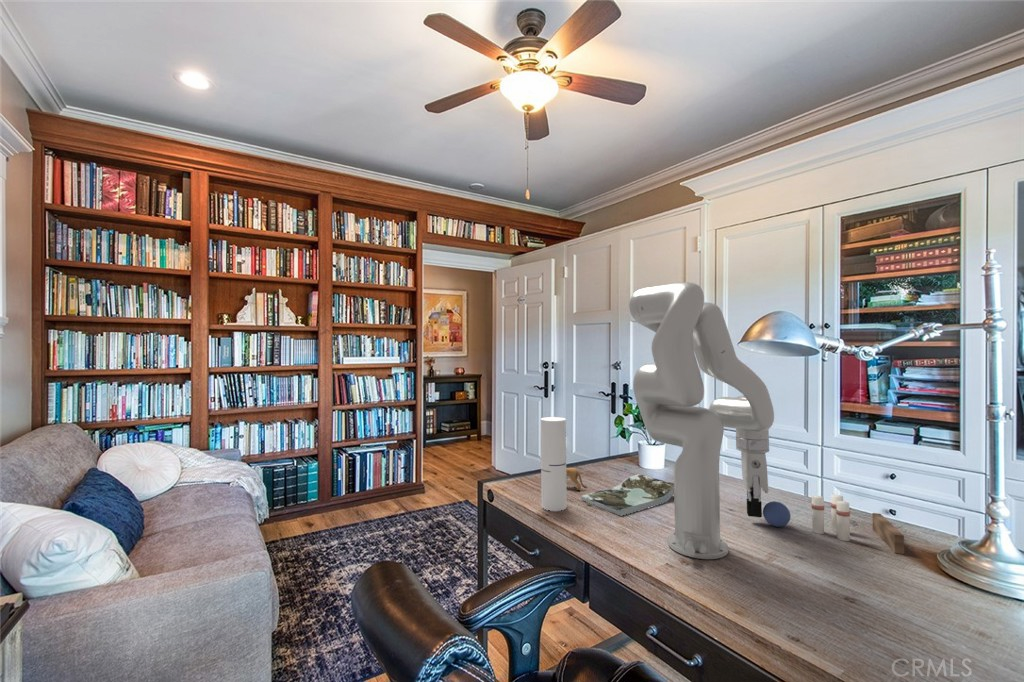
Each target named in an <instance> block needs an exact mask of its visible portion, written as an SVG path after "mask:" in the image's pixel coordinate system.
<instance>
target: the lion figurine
mask: <svg viewBox="0 0 1024 682" xmlns="http://www.w3.org/2000/svg"><path fill="white" fill-rule="evenodd" d="M567 479H570V480H571V481H572V483H573V484H572V485H571V487H572V486H573V487H572V488H574V487H575V488H576V487H577V488H576V489H577V490H580V491H582V490H581V489H582V488H581V486H582V487H583V488H584V489H586V490H587V489H588V487H587V486H585V484H583V481H582V477H581V474H580V471H578V469H577V468H575V467H566V480H567ZM578 480H579V481H578ZM577 490H576V491H577Z"/></svg>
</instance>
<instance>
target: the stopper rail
mask: <svg viewBox="0 0 1024 682" xmlns="http://www.w3.org/2000/svg"><path fill="white" fill-rule="evenodd" d="M872 530H873V531H874V532H875V533H876V534H877V535H878V536H879V538H880V539H882V541H883V542H884V543H885V544H886V545H887V546H888V547H889V548H890V550H892V551H893V553H894V554H898V555H905V535H904V534H903V533H902V532H901V531H900V530H899V529H897V528H896V527H895V526H894V525H893V524H892V523H891V522H890V521H889V520H888V519H887V518H886V517H884V515H882V513H878V512H877V513H876V512H872Z"/></svg>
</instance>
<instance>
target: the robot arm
mask: <svg viewBox="0 0 1024 682" xmlns="http://www.w3.org/2000/svg"><path fill="white" fill-rule="evenodd" d="M628 307H629V313H630V314H631V316H632V318H633V319H634V320H635V321H636V322H637V323H638V324H639V325H641V326H642V327H644V328H646V329H649V330H651V331H653V333H655V334H654V336H653V339H652V341H651V355H652V358H653V363H652V362H651V363H646V364H643V365H642V366H640V367H638V369H637V370H636V371H635V374H634V378H633V380H632V381H633V382H632V383H633V384H632V385H633V386H632V387H633V388H632V389H633V395H634V397H635V401H636V404H637V406H638V409H639V413H640V415H641V418H642V422H643V425H644V426H645V429H646V432H647V433H648V436H650V438H651V439H652V440H654V441H655V442H658V443H662V444H666V445H671V446H676V447H679V448H682V451H681V452H680V454H679V456H678V457H677V459H676V460H675V463H674V466H673V483H674V494H673V495H674V496H673V497H674V498H673V499H674V501H673V503H674V532H672V533H670V535H668V537H667V544H668V546H669V548H671V550H673V551H674V552H676V553H679V554H680V555H682V556H685V557H689V558H693V559H701V560H717V559H722V558H725V557H726V555H728V553H729V546H728V544H727V543H726V541H725V540H723V539H722V538H721V499H720V498H721V496H720V459H721V458H720V456H721V449H722V448H721V447H722V444H723V439H724V438H723V437H724V432H725V431H724V429H725V428H730V429H735V449H736V450H737V451H739V452H740V453H741V454H740V455H741V457H740V459H741V463H740V464H741V475H742V482H743V485H744V488H745V489H746V497H747V498H746V513H747V516H748V517H751V518H753V517H754V518H762V517H763V508H762V506H763V504H762V491H763V492H764V493H765V494H768V493H769V492H770V491H769V478H768V463H767V456H766V453H769V452H770V433H769V432H770V431H769V430H770V429H771V427H772V426H773V425H774V424H773V423H774V420H775V412H774V406H773V403H772V399H771V396H770V393H769V390H768V387H767V385H766V384H765V382H764V381H763V380H762V378H760V376H759V375H757V374H756V372H754V371H753V370H752V369H751V368H750V367H749V366H748V365H747V364H746V363H743V362H742V360H740V359H739V358H738V357H737V355H736V350H735V348H734V345H733V342H732V339H731V335H730V332H729V329H728V326H727V323H726V321H725V316H724V314H723V311H722V309H721V308H720V306H718V305H717V304H715V303H712V302H706V301H705V294H704V291H703V289H702V287H701V286H699V284H696V283H694V282H684V281H682V282H675V283H666V284H661V285H654V286H648V287H642V288H640V289H637V290H636V291H634V292H633V294H632V295H631V296H630V299H629V302H628ZM700 370H701V371H702V372H703V373H705V374H706V375H708V376H710V377H711V378H713V379H716V380H718V381H720V382H722V383H725V384H727V385H729V386H731V387H732V388H734V389H735V390H737V391H739V392H740V393H741V395H740V396H737V397H730V396H721V397H717V398H715V399H714V400H713V401H712V402H711V403H710V405H709V407H708V408H706V407H700V406H697V405H698V404H700V403H701V402H702V401H703V399H704V396H705V386H704V383H703V378H702V375H701V371H700Z"/></svg>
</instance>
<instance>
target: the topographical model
mask: <svg viewBox="0 0 1024 682" xmlns="http://www.w3.org/2000/svg"><path fill="white" fill-rule="evenodd" d="M673 495H674V482H670V481H666V480H662V479H658V478H654V477H649V476H647V475H643V474H641V473H637V474H634V475H631V476H628V477H627V478H625V479H624V480H623V481H622V482H620V483H619V484H618V485H615V486H613V487H611V488H606V489H601V490H597V491H594V492H590V493H587V494H583V495H580V496H581V501H582V500H584V501H586V502H585V503H587V502H589V503H591V504H590V505H592V504H594V505H596V506H595V507H597V506H598V507H597V508H599V507H600V509H601V508H603V509H602V510H604V509H605V510H604V511H606V510H608V511H607V512H609V511H610V512H609V513H611V512H613V513H612V514H614V513H615V514H614V515H616V514H617V516H619V515H620V516H619V517H624V516H627V515H630V513H631V514H634V513H633V512H635V513H637V512H636V511H638V512H640V511H639V510H642V509H645V508H648V507H651V506H654V505H657V504H660V503H662V504H664V502H665V503H667V502H668V501H669V500H670V499H671V498H672V497H673ZM584 501H583V502H584ZM589 503H588V504H589ZM594 505H593V506H594ZM660 505H661V504H660ZM648 509H649V508H648ZM645 510H646V509H645ZM642 511H643V510H642ZM626 514H627V515H626ZM623 515H624V516H623Z"/></svg>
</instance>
